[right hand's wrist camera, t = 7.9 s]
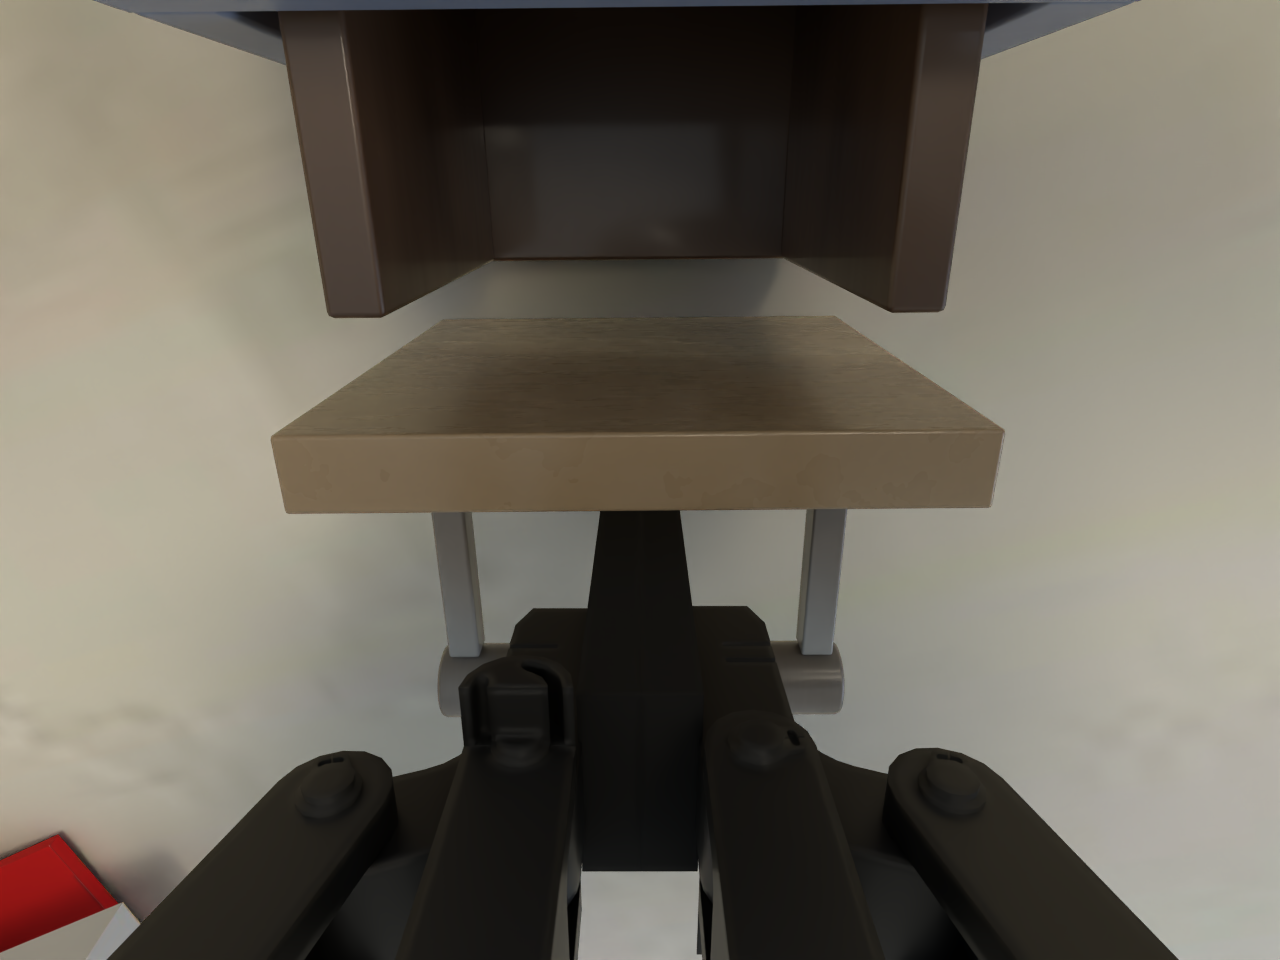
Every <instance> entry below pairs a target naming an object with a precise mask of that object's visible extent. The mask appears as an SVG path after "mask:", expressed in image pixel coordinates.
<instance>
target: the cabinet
mask: <svg viewBox="0 0 1280 960" xmlns="http://www.w3.org/2000/svg"><path fill="white" fill-rule="evenodd" d="M94 1H97V2H100V3H103V4H106V5H109V6H112V7H114V8H117V9H120V10H123V11H126V12H129V13H136V14H138V15H140V16H143V17H146V18H149V19H152V20H155V21H158V22H161V23H164V24H167V25H170V26H173V27H176V28H178V29H181V30H184V31H187V32H190V33H193V34H196V35H199V36H202V37H205V38H208V39H211V40H214V41H217V42H220V43H223V44H225V45H228V46H231V47H234V48H237V49H240V50H243V51H246V52H249V53H252V54H255V55H258V56H261V57H264V58H267V59H269V60H272V61H275V62H278V63H281V64H284V65H286V60H285V54H284V48H283V42H282V36H281V30H280V24H279V18H278V12H277V11H315V10H406V9H496V8H587V7H677V6H767V5H858V4H948V3H989V5H988V12H987V19H986V26H985V33H984V40H983V47H982V54H981V59H983V58H986V57H988V56H991V55H994V54H996V53H999V52H1002V51H1004V50H1007V49H1010V48H1013V47H1015V46H1018V45H1021V44H1023V43H1026V42H1029V41H1031V40H1034V39H1037V38H1039V37H1042V36H1045V35H1048V34H1050V33H1053V32H1056V31H1058V30H1061V29H1064V28H1066V27H1069V26H1072V25H1075V24H1077V23H1080V22H1083V21H1085V20H1088V19H1091V18H1093V17H1096V16H1099V15H1101V14H1104V13H1107V12H1110V11H1112V10H1115V9H1118V8H1120V7H1123V6H1126V5H1128V4H1131V3H1133V2H1134V1H1140V0H94Z"/></svg>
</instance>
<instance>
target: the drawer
mask: <svg viewBox="0 0 1280 960" xmlns="http://www.w3.org/2000/svg"><path fill="white" fill-rule="evenodd" d="M988 5H989V3H948V4H858V5H767V6H677V7H587V8H496V9H406V10H315V11H277V12H278V18H279V24H280V30H281V36H282V42H283V48H284V54H285V60H286V66H287V72H288V78H289V84H290V90H291V96H292V102H293V108H294V114H295V121H296V127H297V133H298V139H299V145H300V151H301V157H302V163H303V169H304V175H305V181H306V187H307V193H308V199H309V205H310V211H311V217H312V223H313V229H314V235H315V241H316V247H317V253H318V259H319V266H320V272H321V278H322V284H323V290H324V296H325V302H326V308H327V313H328V315H329V316H331V317H333V318H381V317H383V316H386V315H387V314H389V313H391V312H393V311H395V310H397V309H399V308H401V307H403V306H405V305H407V304H409V303H411V302H413V301H415V300H417V299H419V298H421V297H423V296H425V295H427V294H429V293H431V292H433V291H435V290H437V289H438V288H440V287H442V286H444V285H446V284H448V283H450V282H452V281H454V280H456V279H458V278H460V277H462V276H464V275H466V274H468V273H470V272H472V271H474V270H476V269H478V268H480V267H482V266H484V265H486V264H488V263H489V262H491V261H552V260H653V259H755V258H784V259H786V260H788V261H790V262H792V263H794V264H796V265H798V266H800V267H802V268H804V269H806V270H808V271H810V272H812V273H814V274H816V275H818V276H820V277H822V278H824V279H826V280H828V281H830V282H832V283H834V284H836V285H838V286H840V287H842V288H844V289H846V290H847V291H849V292H851V293H853V294H855V295H857V296H859V297H861V298H863V299H865V300H867V301H869V302H871V303H873V304H875V305H877V306H879V307H881V308H883V309H885V310H887V311H889V312H892V313H910V312H939V311H942V310H944V308H945V306H946V299H947V292H948V285H949V278H950V271H951V264H952V257H953V250H954V243H955V236H956V229H957V222H958V215H959V208H960V201H961V194H962V187H963V180H964V173H965V166H966V159H967V152H968V145H969V138H970V131H971V124H972V117H973V110H974V103H975V96H976V89H977V82H978V75H979V68H980V61H981V54H982V47H983V40H984V33H985V26H986V19H987V12H988ZM1004 436H1005V431H1004V429H1003V428H1001V427H1000V426H998V425H997V424H995V423H994V422H992V421H991V420H989V419H988V418H986V417H985V416H983V415H982V414H980V413H979V412H977V411H976V410H974V409H973V408H971V407H970V406H968V405H967V404H965V403H964V402H962V401H961V400H959V399H958V398H956V397H955V396H953V395H952V394H950V393H949V392H947V391H946V390H944V389H943V388H941V387H940V386H938V385H937V384H936V383H934V382H933V381H931V380H930V379H928V378H927V377H925V376H924V375H922V374H921V373H919V372H918V371H916V370H915V369H913V368H912V367H910V366H909V365H907V364H906V363H904V362H903V361H901V360H900V359H898V358H897V357H895V356H894V355H892V354H891V353H889V352H888V351H886V350H885V349H883V348H882V347H880V346H879V345H877V344H876V343H874V342H873V341H871V340H870V339H868V338H867V337H865V336H864V335H862V334H861V333H859V332H858V331H856V330H855V329H853V328H852V327H850V326H849V325H847V324H846V323H844V322H843V321H841V320H840V319H838V318H837V317H835V316H773V317H668V318H564V319H460V320H442V321H440V322H439V323H437V324H436V325H434V326H433V327H431V328H430V329H428V330H427V331H425V332H424V333H423V334H421V335H420V336H418V337H417V338H415V339H414V340H412V341H411V342H409V343H408V344H406V345H405V346H403V347H402V348H400V349H399V350H397V351H396V352H395V353H393V354H392V355H390V356H389V357H387V358H386V359H384V360H383V361H381V362H380V363H378V364H377V365H375V366H374V367H372V368H371V369H370V370H368V371H367V372H365V373H364V374H362V375H361V376H359V377H358V378H356V379H355V380H353V381H352V382H350V383H349V384H347V385H346V386H344V387H343V388H342V389H340V390H339V391H337V392H336V393H334V394H333V395H331V396H330V397H328V398H327V399H325V400H324V401H322V402H321V403H319V404H318V405H317V406H315V407H314V408H312V409H311V410H309V411H308V412H306V413H305V414H303V415H302V416H300V417H299V418H297V419H296V420H294V421H293V422H291V423H290V424H289V425H287V426H286V427H284V428H283V429H281V430H280V431H278V432H277V433H275V434H274V435H272V437H271V444H272V449H273V453H274V458H275V463H276V468H277V473H278V478H279V482H280V487H281V492H282V497H283V502H284V507H285V511H286V513H289V514H313V513H428V512H432V520H433V528H434V536H435V544H436V552H437V560H438V568H439V576H440V584H441V592H442V600H443V608H444V616H445V624H446V631H447V639H448V646H447V647H446V648H445V650H444V652H443V655H442V658H441V661H440V666H439V672H438V701H439V706H440V710H441V712H442V714H443V715H444V716H447V717H461V711H460V701H459V691H458V687H459V686H460V684H461V683H462V681H463V680H464V679H465V677H466V676H467V674H469V673H470V672H472V671H473V670H475V669H476V668H478V667H479V666H481V665H482V664H484V663H487V662H490V661H493V660H496V659H499V658H502V657H506V655H507V652H508V649H509V648H510V643H484V641H485V637H484V627H483V617H482V608H481V598H480V589H479V579H478V569H477V560H476V550H475V540H474V531H473V521H472V512H544V511H660V510H775V509H807V512H806V524H805V536H804V548H803V561H802V573H801V585H800V597H799V609H798V622H797V634H796V639H797V641H770V644H771V646H772V649H773V652H774V655H775V662H777V665H778V669H779V672H780V675H781V679H782V682H783V685H784V689H785V692H786V695H787V698H788V702H789V705H790V708H791V712H792V714H836V713H838V712H840V710H841V708H842V704H843V700H844V671H843V664H842V659H841V656H840V653H839V650H838V647H837V645H836V644H835V643H834V642H833V641H834V632H835V622H836V612H837V603H838V593H839V584H840V574H841V564H842V555H843V545H844V536H845V526H846V517H847V509H891V508H989V507H991V505H992V501H993V496H994V491H995V485H996V480H997V474H998V469H999V463H1000V458H1001V453H1002V447H1003V442H1004Z"/></svg>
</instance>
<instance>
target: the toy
mask: <svg viewBox="0 0 1280 960" xmlns="http://www.w3.org/2000/svg"><path fill="white" fill-rule="evenodd" d="M139 925H140V922H139V921H138V920H137V919H136V917H135V916H134V915H133V914H132V913H131V911H130V910H129V909H128V908H127V907H126V905H125V904H124V903H123V902H122V903H119V904H118V903H117V901H116V900H115V899H114V898H113V897H112V896H111V894H110V893H109V892H108V891H107V890H106V889H105V888H104V886H103V885H102V884H101V883H100V882H99V881H98V880H97V878H96V877H95V876H94V875H93V874H92V873H91V872H90V870H89V869H88V868H87V867H86V866H85V865H84V863H83V862H82V861H81V860H80V859H79V858H78V857H77V855H76V854H75V853H74V852H73V851H72V850H71V849H70V847H69V846H68V845H67V844H66V843H65V842H64V841H63V839H62V838H61V837H60V836H59V835H56V836H53V837H51V838H49V839H47V840H44V841H42V842H40V843H38V844H36V845H33V846H31V847H29V848H27V849H24V850H22V851H20V852H18V853H16V854H13V855H11V856H9V857H7V858H4V859H2V860H0V960H107V958H108V957H109V956H110V955H111V954H112V953H113V952H114V951H115V950H116V949H117V948H118V947H119V946H120V945H121V944H122V943H123V942H124V941H125V940H126V939H127V938H128V937H129V936H130V935H131V934H132V933H133V932H134V930H135V929H136V928H137V927H138V926H139Z"/></svg>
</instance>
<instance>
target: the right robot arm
mask: <svg viewBox="0 0 1280 960" xmlns="http://www.w3.org/2000/svg"><path fill="white" fill-rule="evenodd" d="M458 691H459V701H460V711H461V720H462V730H463V740H464V748H463V751H462V754H460V755H459V756H457V757H455V758H453V759H451V760H449V761H447V762H446V763H444V764H441V765H437V766H434V767H431V768H428V769H425V770H420V771H416V772H412V773H408V774H403V775H399V776H395V777H392V770H391V769H390V767H389V766H388V765H387V764H386V763H385V761H384V760H383V759H382V758H380V757H378V756H375V755H373V754H370V753H367V752H365V751H340V752H336V753H331V754H327V755H322V756H319V757H317V758H315V759H312V760H310V761H308V762H306V763H304V764H302V765H300V766H297V767H296V768H295V769H293V770H292V771H291V772H290V773H288V774H287V775H286V776H285V777H283V778H282V779H281V780H279V781H278V782H277V783H276V784H275V785H274V786H273V787H272V788H271V789H270V790H269V791H268V793H267V794H266V795H265V796H264V797H263V798H262V799H261V800H260V801H259V802H258V803H257V804H256V805H255V806H254V807H253V808H252V809H251V810H250V811H249V812H248V813H247V814H246V815H245V816H244V817H243V818H242V819H241V821H240V822H239V823H238V824H237V825H236V826H235V827H234V828H233V829H232V830H231V831H230V832H229V833H228V834H227V835H226V836H225V837H224V838H223V839H222V840H221V841H220V842H219V843H218V844H217V845H216V846H215V847H214V849H213V850H212V851H211V852H210V853H209V854H208V855H207V856H206V857H205V858H204V859H203V860H202V861H201V862H200V863H199V864H198V865H197V866H196V867H195V868H194V869H193V870H192V871H191V872H190V873H189V874H188V876H187V877H186V878H185V879H184V880H183V881H182V882H181V883H180V884H179V885H178V886H177V887H176V888H175V889H174V890H173V891H172V892H171V893H170V894H169V895H168V896H167V897H166V898H165V899H164V900H163V901H162V902H161V904H160V905H159V906H158V907H157V908H156V909H155V910H154V911H153V912H152V913H151V914H150V915H149V916H148V917H147V918H146V919H145V920H144V921H143V922H142V923H141V924H140V925H139V926H138V927H137V928H136V929H135V930H134V932H133V933H132V934H131V935H130V936H129V937H128V938H127V939H126V940H125V941H124V942H123V943H122V944H121V945H120V946H119V947H118V948H117V949H116V950H115V951H114V952H113V953H112V954H111V955H110V956H109V957H108V958H107V960H578V948H579V936H580V924H581V911H582V907H581V880H580V879H581V868H582V871H698V863H699V874H700V880H699V907H698V934H697V954H702V960H1178V958H1177V957H1176V956H1175V955H1174V954H1173V953H1172V952H1171V951H1170V950H1169V949H1168V948H1167V947H1166V946H1165V945H1164V944H1163V943H1162V942H1161V941H1160V940H1159V939H1158V938H1157V937H1156V936H1155V935H1154V934H1153V933H1152V932H1151V931H1150V930H1149V929H1148V928H1147V927H1146V926H1145V924H1144V923H1143V922H1142V921H1141V920H1140V919H1139V918H1138V917H1137V916H1136V915H1135V914H1134V913H1133V912H1132V911H1131V910H1130V909H1129V908H1128V907H1127V906H1126V905H1125V904H1124V903H1123V902H1122V901H1121V900H1120V899H1119V898H1118V897H1117V896H1116V895H1115V894H1114V893H1113V892H1112V890H1111V889H1110V888H1109V887H1108V886H1107V885H1106V884H1105V883H1104V882H1103V881H1102V880H1101V879H1100V878H1099V877H1098V876H1097V875H1096V874H1095V873H1094V872H1093V871H1092V870H1091V869H1090V868H1089V867H1088V866H1087V865H1086V864H1085V863H1084V862H1083V861H1082V860H1081V859H1080V858H1079V856H1078V855H1077V854H1076V853H1075V852H1074V851H1073V850H1072V849H1071V848H1070V847H1069V846H1068V845H1067V844H1066V843H1065V842H1064V841H1063V840H1062V839H1061V838H1060V837H1059V836H1058V835H1057V834H1056V833H1055V832H1054V831H1053V830H1052V829H1051V828H1050V827H1049V826H1048V825H1047V824H1046V822H1045V821H1044V820H1043V819H1042V818H1041V817H1040V816H1039V815H1038V814H1037V813H1036V812H1035V811H1034V810H1033V809H1032V808H1031V807H1030V806H1029V805H1028V804H1027V803H1026V802H1025V801H1024V800H1023V799H1022V798H1021V797H1020V796H1019V795H1018V794H1017V793H1016V792H1015V791H1014V790H1013V788H1012V787H1011V786H1010V785H1009V784H1008V783H1007V782H1006V781H1005V780H1004V779H1003V778H1002V777H1000V776H999V775H998V774H996V773H995V772H994V771H993V770H991V769H990V768H989V767H987V766H986V765H985V764H984V763H981V762H979V761H977V760H975V759H973V758H971V757H968V756H966V755H964V754H962V753H958V752H954V751H949V750H945V749H940V748H916V749H913V750H910V751H908V752H905V753H903V754H900V755H898V757H897V758H896V759H895V760H894V761H893V763H892V764H891V765H890V766H889V771H888V774H885V773H881V772H877V771H872V770H868V769H864V768H860V767H855V766H852V765H849V764H846V763H843V762H839V761H837V760H835V759H833V758H831V757H829V756H827V755H825V754H823V753H821V752H820V751H818V750H817V747H816V745H815V743H814V741H813V740H812V738H811V736H810V735H809V733H808V732H807V731H806V730H805V729H804V728H802V727H801V726H800V725H798V724H797V723H796V722H795V721H794V718H793V715H792V712H791V708H790V705H789V702H788V698H787V695H786V692H785V689H784V685H783V682H782V679H781V675H780V672H779V669H778V665H777V662H775V655H774V652H773V649H772V646H771V644H770V639H769V635H768V632H767V629H766V626H765V623H764V622H763V621H762V620H761V619H760V618H759V617H758V616H757V615H756V614H755V613H754V612H753V611H752V610H751V609H750V608H748V607H747V606H692V600H691V593H690V585H689V578H688V570H687V562H686V555H685V547H684V540H683V532H682V524H681V517H680V510H660V511H600V518H599V525H598V533H597V541H596V548H595V556H594V563H593V571H592V579H591V586H590V594H589V601H588V608H533V609H532V610H531V611H530V612H529V613H528V614H527V615H526V616H525V617H524V618H523V619H521V620H520V621H519V622H518V623H517V624H516V625H515V629H514V632H513V635H512V639H511V642H510V648H509V649H508V652H507V655H506V657H502V658H499V659H496V660H493V661H490V662H487V663H484V664H482V665H481V666H479V667H478V668H476V669H475V670H473V671H472V672H470V673H469V674H467V676H466V677H465V679H464V680H463V681H462V683H461V684H460V686H459V687H458Z"/></svg>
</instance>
